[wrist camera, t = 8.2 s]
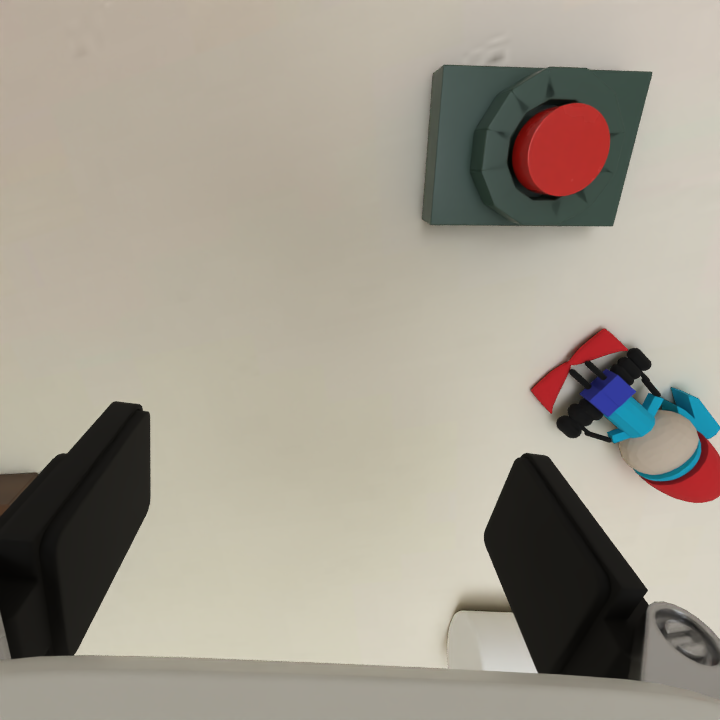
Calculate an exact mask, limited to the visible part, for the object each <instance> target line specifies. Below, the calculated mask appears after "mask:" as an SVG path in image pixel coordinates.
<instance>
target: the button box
mask: <svg viewBox="0 0 720 720" xmlns="http://www.w3.org/2000/svg"><path fill="white" fill-rule="evenodd" d="M651 76H652V72H643V71H613V70H589V69H587V68H573V67H548V68H526V67H496V66H467V65H443V66H442V67H441V68H439V69H438V70H437V71H436V72H434V73H433V80H432V93H431V107H430V120H429V133H428V147H427V160H426V174H425V187H424V201H423V214H422V220H424V221H425V222H427V223H429V224H430V225H499V226H613V224H614V220H615V216H616V213H617V209H618V205H619V201H620V197H621V193H622V189H623V185H624V181H625V178H626V174H627V170H628V166H629V162H630V158H631V154H632V150H633V146H634V143H635V139H636V135H637V131H638V127H639V123H640V119H641V115H642V111H643V108H644V104H645V100H646V96H647V92H648V88H649V84H650V80H651ZM571 103H584V104H587V105H590V106H592V107H594V108H595V109H597V110H598V111H599V112H600V113H601V114H602V115H603V117H604V118H605V120H606V122H607V125H608V128H609V132H610V148H609V153H608V156H607V159H606V162H605V164H604V166H603V168H602V170H601V171H600V173H599V174H598V176H597V177H596V178H595V179H594V180H593V181H592V182H591V183H590V184H589V185H588V186H586V187H585V188H584V189H582V190H581V191H579V192H576V193H574V194H571V195H567V196H552V195H546V194H540V193H535V192H532V191H530V190H528V189H526V188H525V187H524V186H523V185H522V184H521V183H520V182H519V181H518V179H517V178H516V175H515V173H514V170H513V165H512V152H513V147H514V143H515V140H516V138H517V136H518V134H519V132H520V130H521V129H522V127H523V126H524V125H525V123H526V122H527V121H528V120H529V119H530V118H532V117H533V116H534V115H536V114H537V113H539V112H541V111H543V110H545V109H548V108H553V107H557V106H561V105H566V104H571Z"/></svg>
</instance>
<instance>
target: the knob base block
mask: <svg viewBox="0 0 720 720" xmlns="http://www.w3.org/2000/svg"><path fill="white" fill-rule="evenodd" d="M37 476H38V475H37V473H28V474H6V475H0V516H1V515H2V514H3V513H4V512H5V511H6V510H7V509H8V507H9V506H10V505H11V504H12V503H13V502H14V501H15V500H16V499H17V498H18V497H19V495H20V494H21V493H22V492H23V491H24V490H25V489H26V488H27V487H28V486H29V484H30V483H31V482H32V481H33V480H34V479H35V478H36V477H37Z"/></svg>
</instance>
